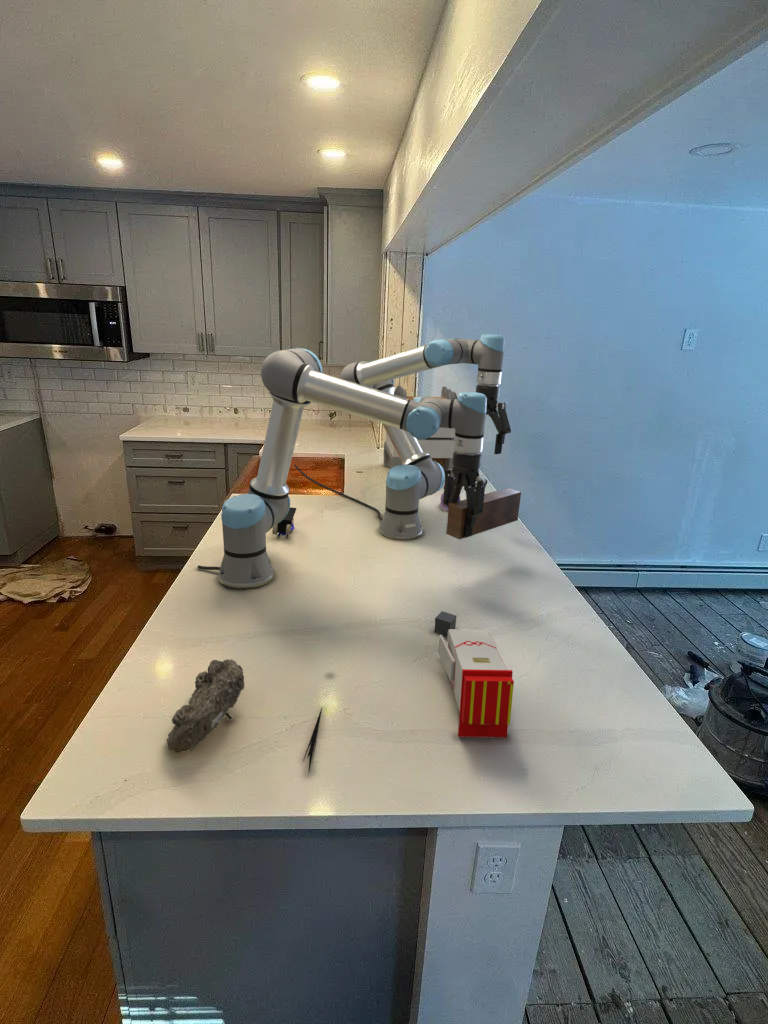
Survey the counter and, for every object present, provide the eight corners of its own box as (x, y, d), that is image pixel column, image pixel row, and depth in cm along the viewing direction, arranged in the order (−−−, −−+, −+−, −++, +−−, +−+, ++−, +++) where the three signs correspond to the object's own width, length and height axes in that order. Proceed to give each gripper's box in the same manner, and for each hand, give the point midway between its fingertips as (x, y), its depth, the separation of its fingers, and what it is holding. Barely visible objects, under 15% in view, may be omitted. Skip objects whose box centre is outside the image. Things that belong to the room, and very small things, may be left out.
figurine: (446, 513, 222) (450, 476, 217) (432, 505, 230) (435, 469, 225) (466, 510, 226) (470, 474, 221) (452, 502, 234) (455, 467, 229)
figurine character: (292, 545, 190) (297, 524, 203) (291, 525, 186) (296, 505, 200) (271, 544, 189) (278, 523, 203) (270, 524, 186) (277, 504, 199)
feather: (331, 679, 122) (336, 673, 122) (307, 777, 96) (313, 769, 95) (324, 675, 122) (329, 669, 121) (298, 772, 95) (304, 764, 95)
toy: (488, 613, 130) (523, 677, 101) (484, 667, 133) (517, 744, 104) (435, 612, 130) (455, 676, 101) (432, 666, 133) (451, 743, 103)
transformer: (382, 463, 289) (386, 382, 275) (445, 464, 293) (451, 384, 279) (390, 482, 257) (394, 392, 243) (460, 483, 261) (468, 394, 247)
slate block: (434, 632, 140) (435, 617, 139) (440, 624, 143) (441, 610, 142) (448, 636, 138) (450, 622, 137) (455, 629, 142) (456, 615, 140)
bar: (459, 539, 155) (462, 508, 152) (446, 534, 158) (448, 503, 155) (517, 520, 171) (521, 492, 168) (504, 515, 174) (507, 487, 171)
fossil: (192, 660, 117) (244, 628, 112) (224, 691, 120) (276, 661, 115) (142, 746, 98) (202, 712, 93) (182, 779, 101) (242, 748, 96)
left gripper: (433, 446, 154) (427, 526, 162) (484, 461, 142) (475, 546, 149) (452, 443, 159) (445, 521, 167) (503, 457, 146) (493, 540, 154)
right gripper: (451, 380, 188) (446, 443, 196) (512, 390, 171) (504, 459, 178) (466, 379, 193) (461, 440, 200) (527, 389, 175) (518, 455, 183)
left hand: (459, 533), depth 158 cm, fingers closed on bar, 5 cm apart
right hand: (481, 449), depth 189 cm, fingers open, 13 cm apart
